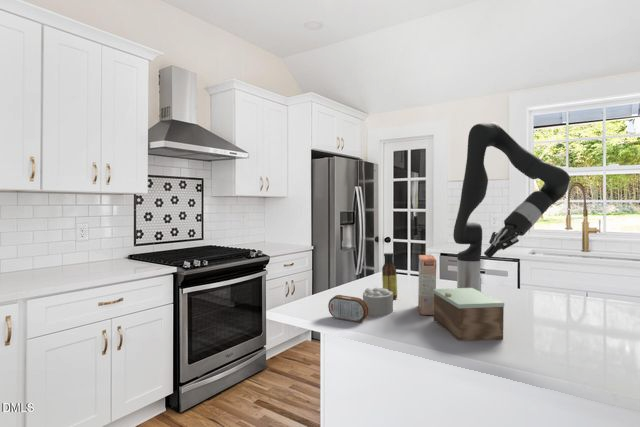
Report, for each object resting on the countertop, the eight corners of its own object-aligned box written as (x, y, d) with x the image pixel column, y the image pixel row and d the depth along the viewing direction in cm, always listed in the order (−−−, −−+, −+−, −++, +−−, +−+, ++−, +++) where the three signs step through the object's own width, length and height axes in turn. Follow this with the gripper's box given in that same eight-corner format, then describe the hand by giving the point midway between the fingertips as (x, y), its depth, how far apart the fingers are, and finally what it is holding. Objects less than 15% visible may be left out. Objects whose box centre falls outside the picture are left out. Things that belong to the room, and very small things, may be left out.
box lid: (471, 291, 138) (471, 285, 138) (504, 306, 117) (504, 300, 117) (432, 292, 136) (432, 286, 136) (458, 308, 116) (458, 301, 116)
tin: (368, 322, 135) (368, 298, 135) (365, 324, 133) (364, 300, 132) (331, 315, 143) (331, 293, 143) (327, 318, 140) (327, 295, 140)
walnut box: (471, 319, 138) (472, 291, 137) (503, 339, 118) (503, 306, 117) (434, 320, 136) (434, 292, 136) (459, 340, 117) (459, 308, 116)
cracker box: (436, 316, 142) (437, 259, 141) (419, 315, 143) (420, 259, 142) (433, 306, 155) (433, 254, 155) (417, 305, 157) (418, 254, 156)
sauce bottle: (398, 297, 170) (398, 252, 170) (396, 300, 164) (396, 254, 164) (383, 296, 172) (383, 251, 172) (381, 299, 166) (381, 253, 166)
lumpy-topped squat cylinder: (395, 310, 150) (395, 288, 150) (382, 318, 139) (382, 294, 139) (371, 306, 156) (371, 285, 156) (357, 314, 145) (357, 291, 145)
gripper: (503, 210, 134) (469, 245, 133) (527, 211, 121) (489, 250, 120) (518, 225, 134) (484, 260, 134) (543, 227, 121) (505, 267, 121)
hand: (486, 255), depth 127 cm, fingers closed
